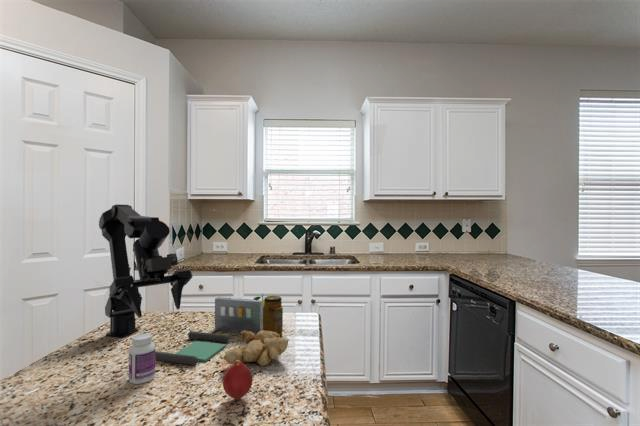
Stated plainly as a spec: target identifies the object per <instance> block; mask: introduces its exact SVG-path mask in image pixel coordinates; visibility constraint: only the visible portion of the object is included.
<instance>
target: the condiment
mask: <svg viewBox="0 0 640 426" xmlns="http://www.w3.org/2000/svg"><path fill="white" fill-rule="evenodd" d="M282 299H283V298H282V297H281V296H278V295H270V296H266V297H264V298H263V300H264V301H265V302H264V307H263V331H272V332H276V333H277V334H279V335H280V338H285V339H286V340H288V341H289V340H290V339H289V338H288V337H287V335H285V334H284V333H283V329H284V328H283V327H284V325H283V324H284V323H283V322H284V320H283V319H284V318H283V315H284V314H283V313H284V312H283V311H284V310H283V303H282Z"/></svg>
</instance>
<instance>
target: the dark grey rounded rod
mask: <svg viewBox="0 0 640 426" xmlns="http://www.w3.org/2000/svg"><path fill="white" fill-rule="evenodd" d="M155 361H161V362H168V363H175V364H183V365H190V366H195V365H197V364H198V363H199V361H198V358H197V357H196V356H189V355H181V354H175V353H173V352H164V351H157V350H156V359H155Z"/></svg>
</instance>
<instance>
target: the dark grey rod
mask: <svg viewBox="0 0 640 426" xmlns="http://www.w3.org/2000/svg"><path fill="white" fill-rule="evenodd" d="M187 336H188V338H189V339H194V340H205V341H211V342H220V343H227V342H229V340H230V336H229V335H228V334H221V333H213V332H203V331H202V332H201V331H195V330H194V331H192V330H191V331H189V332H188V335H187Z"/></svg>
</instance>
